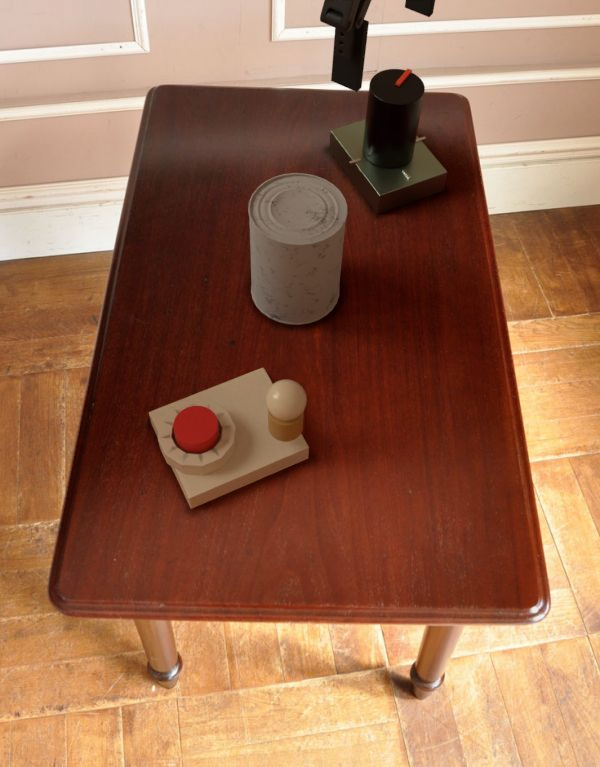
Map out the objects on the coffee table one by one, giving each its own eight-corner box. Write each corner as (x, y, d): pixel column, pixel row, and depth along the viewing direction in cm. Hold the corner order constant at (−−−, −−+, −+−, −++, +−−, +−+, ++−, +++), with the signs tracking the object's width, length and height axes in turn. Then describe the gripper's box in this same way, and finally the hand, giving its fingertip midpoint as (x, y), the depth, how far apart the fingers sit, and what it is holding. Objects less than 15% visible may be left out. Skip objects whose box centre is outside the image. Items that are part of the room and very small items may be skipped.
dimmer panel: (324, 151, 105) (325, 130, 102) (396, 127, 107) (400, 106, 105) (372, 216, 99) (375, 196, 96) (447, 189, 101) (452, 169, 99)
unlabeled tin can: (278, 338, 89) (278, 258, 79) (235, 276, 93) (230, 193, 83) (356, 303, 92) (366, 222, 81) (310, 244, 96) (315, 160, 86)
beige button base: (146, 425, 83) (141, 403, 79) (263, 379, 86) (263, 356, 83) (186, 511, 78) (182, 491, 75) (308, 458, 81) (310, 437, 78)
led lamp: (259, 418, 79) (258, 380, 74) (294, 404, 80) (295, 365, 74) (276, 449, 77) (276, 412, 72) (311, 434, 78) (314, 397, 73)
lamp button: (168, 425, 79) (166, 415, 77) (208, 409, 80) (207, 399, 78) (185, 459, 77) (183, 450, 75) (226, 442, 78) (225, 433, 76)
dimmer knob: (398, 175, 98) (409, 109, 90) (353, 155, 100) (359, 88, 92) (422, 145, 101) (434, 78, 93) (377, 126, 103) (386, 59, 95)
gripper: (377, -128, 55) (349, 135, 72) (536, -257, 67) (479, -4, 84) (279, -162, 57) (275, 102, 75) (451, -282, 69) (412, -30, 87)
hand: (383, 46), depth 80 cm, fingers open, 13 cm apart
